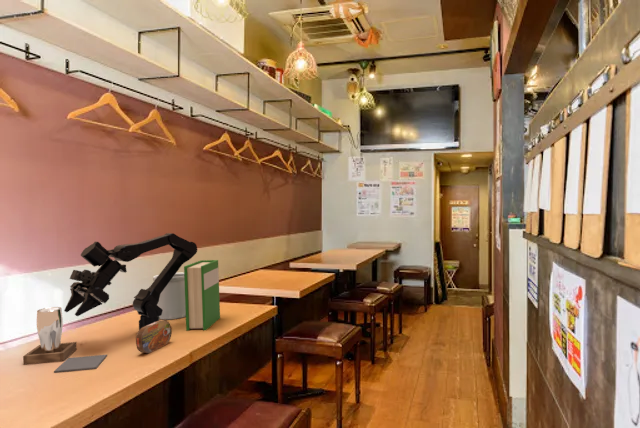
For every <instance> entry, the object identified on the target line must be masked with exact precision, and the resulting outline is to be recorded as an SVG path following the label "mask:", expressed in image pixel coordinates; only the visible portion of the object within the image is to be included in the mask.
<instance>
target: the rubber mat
mask: <svg viewBox="0 0 640 428" xmlns="http://www.w3.org/2000/svg"><path fill="white" fill-rule="evenodd" d="M107 357H108V354H98V355H97V354H96V355H89V356H88V355H87V356H74V357H68V358H67V359H65V360H64V361H62V362H63V363H61V364H60V365H59V366H58V367H57V368H56V369H55V370H54V371H53V374H56V373H68V372H78V371H88V370H89V371H90V370H97V368H98V367H99V366H100V365H101V364H102V362H103V361H105V359H106V358H107Z"/></svg>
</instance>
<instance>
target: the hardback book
mask: <svg viewBox="0 0 640 428" xmlns="http://www.w3.org/2000/svg"><path fill="white" fill-rule="evenodd" d="M183 272H184V281H185V309H186V316H185V329H186V330H185V331H186V332H187V331H190V330H191V329H202V331H203V332H204V331H207V330H208V329H209V328H211V327H212V326H213V325H214V324H215V323H216V322H217V321H219V320H220V319H221V308H220V307H221V306H220V305H221V304H220V303H221V301H220V273H219V259H207V260H205V259H203V260H197V261H195V262H192V263H190V264H187V265H184V266H183Z"/></svg>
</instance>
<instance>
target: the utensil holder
mask: <svg viewBox="0 0 640 428" xmlns="http://www.w3.org/2000/svg"><path fill="white" fill-rule="evenodd" d="M158 276H159V274H156V275H154V276H152V280H153V282H154V281H155V279H156V278H157V277H158ZM157 306H159V307H160V308H161V309H162V310H163V311H162V315H161V316H159V318H160V320H167V321H168V320H174V319H175V320H177V319H182V318H186V309H185V281H184V271H183V272H182V271H181V272H179V271H177V272H176V274H175V275H174V276H173V278H172V279H171V280H170V282H169V283H168V284H167V286H166V287H165V288H164V290H163V291H162V292H161V294H160V298H159V302H158V304H157Z"/></svg>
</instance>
